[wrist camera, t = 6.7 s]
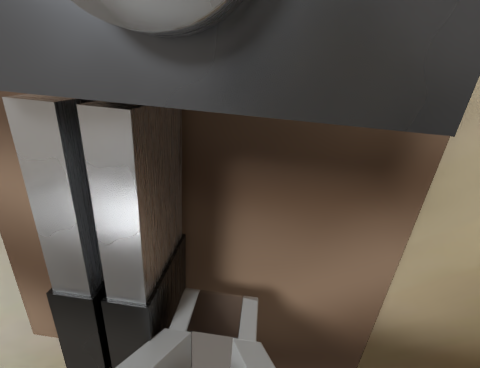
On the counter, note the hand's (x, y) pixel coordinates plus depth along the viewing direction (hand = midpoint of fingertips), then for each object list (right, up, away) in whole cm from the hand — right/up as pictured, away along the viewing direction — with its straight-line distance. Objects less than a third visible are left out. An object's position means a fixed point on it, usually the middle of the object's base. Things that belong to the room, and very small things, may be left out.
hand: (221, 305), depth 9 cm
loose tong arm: (-2, +2, +1) cm, 3 cm away
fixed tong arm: (-3, +2, +1) cm, 4 cm away
